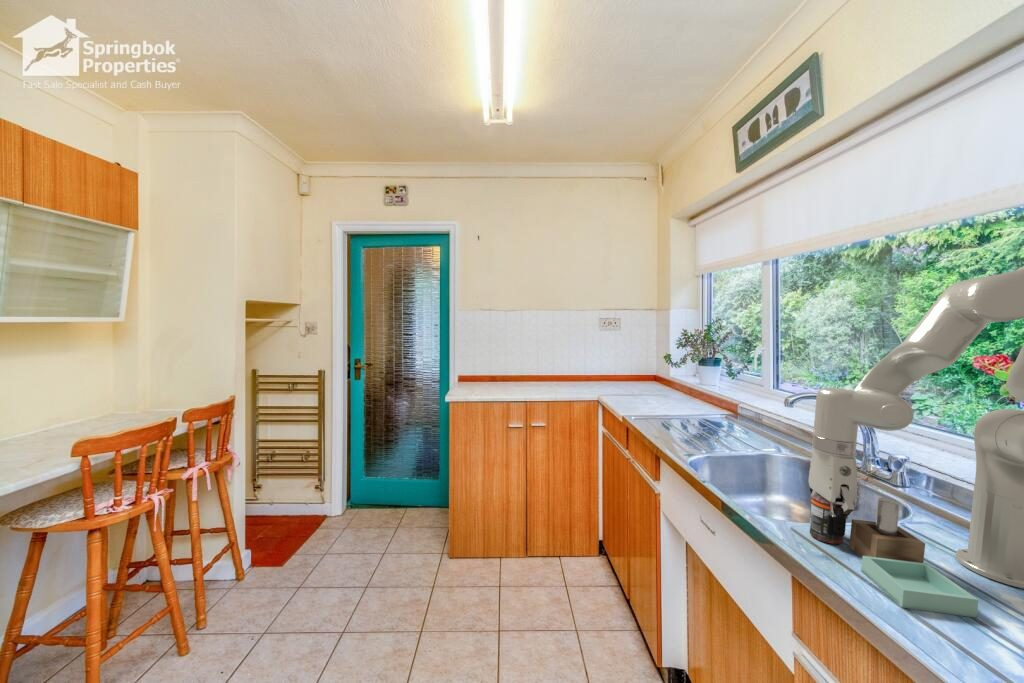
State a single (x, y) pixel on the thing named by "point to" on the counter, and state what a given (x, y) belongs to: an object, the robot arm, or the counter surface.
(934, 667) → the counter surface
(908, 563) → the tray
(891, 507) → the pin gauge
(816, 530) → the supplement bottle
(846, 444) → the robot arm
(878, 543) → the bore block
